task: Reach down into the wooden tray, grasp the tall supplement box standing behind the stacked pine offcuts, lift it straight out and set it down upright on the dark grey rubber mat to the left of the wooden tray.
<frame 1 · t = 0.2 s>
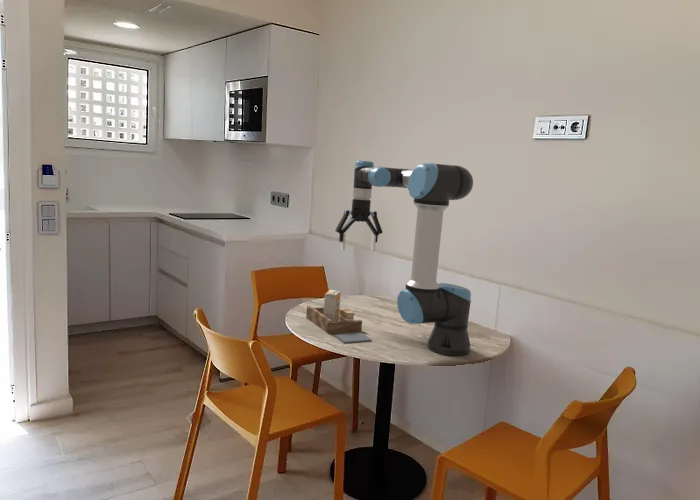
hand: (357, 250, 235), 28 cm above the table, fingers open, 13 cm apart
mat: (353, 338, 206), on the table
wooden tray: (333, 324, 222), on the table
offcut upper: (345, 316, 225), point 3 cm above the table, touching offcut lower
supplement box: (330, 324, 222), on the table
offcut lower: (345, 324, 225), on the table, touching offcut upper
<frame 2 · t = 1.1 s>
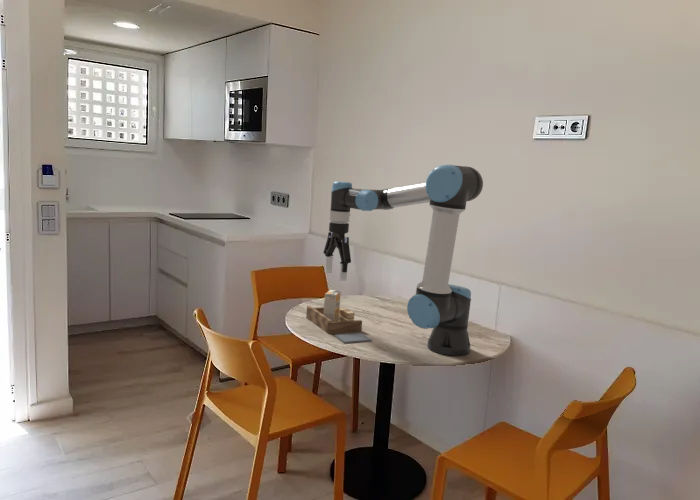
hand: (335, 276, 220), 19 cm above the table, fingers open, 13 cm apart
nothing on the table moved.
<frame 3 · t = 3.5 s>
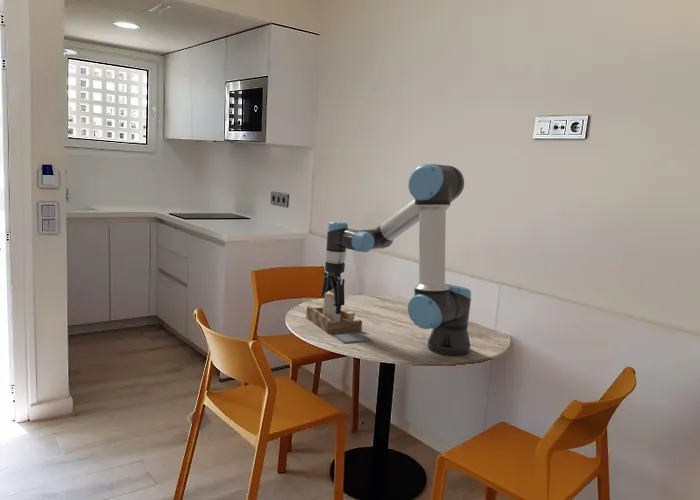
hand: (331, 318, 222), 3 cm above the table, fingers closed on supplement box, 9 cm apart
supplement box: (330, 324, 222), on the table, touching gripper
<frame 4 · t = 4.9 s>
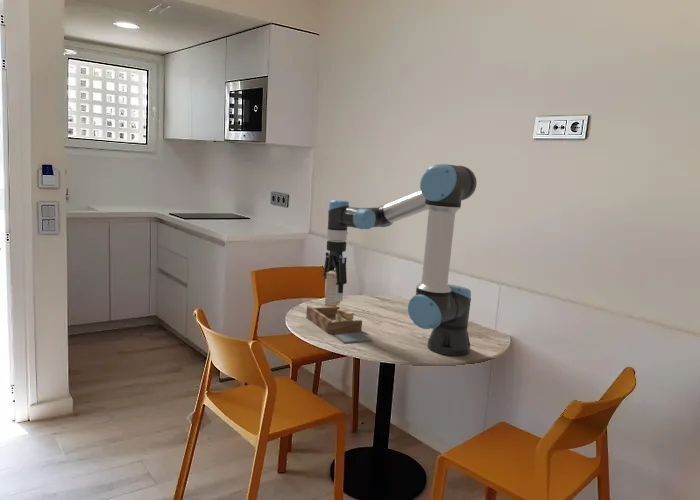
hand: (333, 298, 220), 11 cm above the table, fingers closed on supplement box, 9 cm apart
supplement box: (332, 305, 220), point 8 cm above the table, touching gripper
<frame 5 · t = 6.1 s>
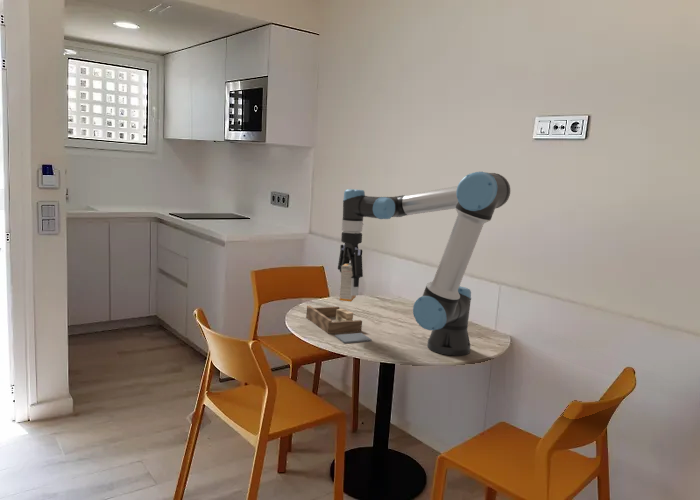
hand: (348, 292, 210), 16 cm above the table, fingers closed on supplement box, 9 cm apart
supplement box: (347, 299, 210), point 13 cm above the table, touching gripper
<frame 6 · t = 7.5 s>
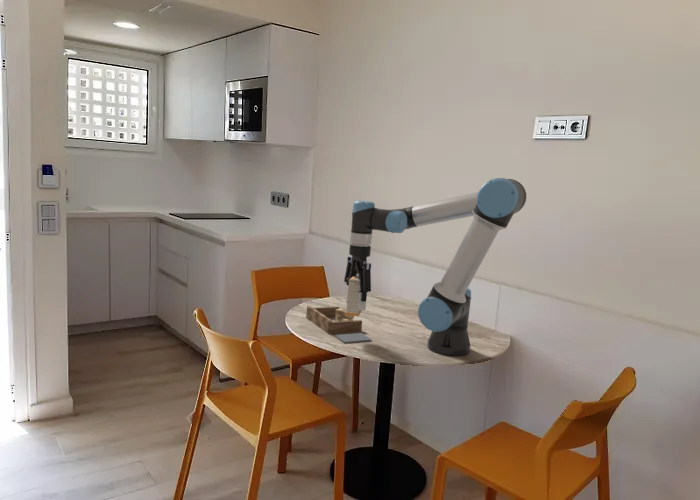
hand: (355, 306, 204), 12 cm above the table, fingers closed on supplement box, 9 cm apart
supplement box: (354, 313, 205), point 9 cm above the table, touching gripper
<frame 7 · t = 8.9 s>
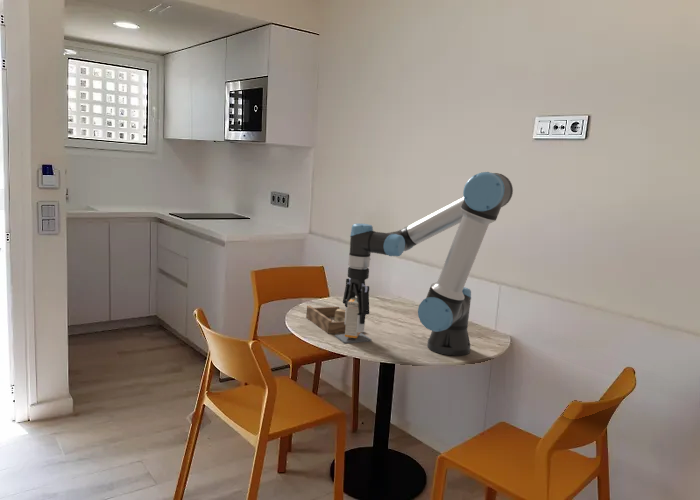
hand: (353, 328, 205), 4 cm above the table, fingers closed on supplement box, 9 cm apart
supplement box: (352, 335, 206), point 1 cm above the table, touching gripper
when the fingers open (4 cm above the table, at t = 9.8 s): supplement box moves 1 cm, resting on mat.
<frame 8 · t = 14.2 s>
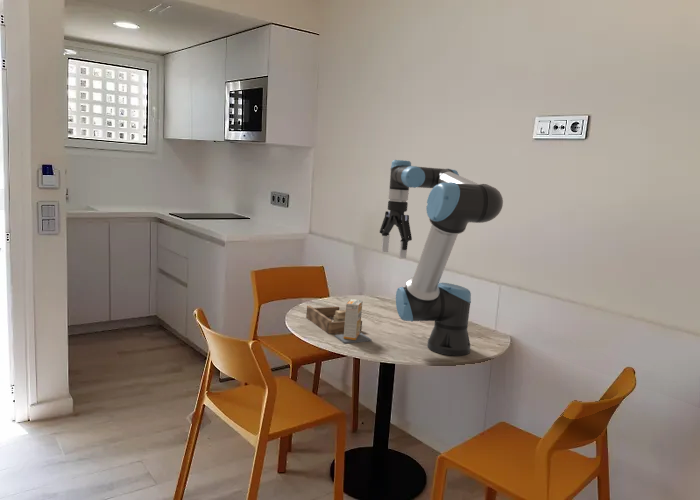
hand: (393, 255, 221), 29 cm above the table, fingers open, 13 cm apart
supplement box: (351, 337, 207), resting on mat
at the end: supplement box inside the target area on the mat (0.8 cm from its centre), point 0.4 cm above the mat's base; supplement box tilted 0°; the gripper is holding nothing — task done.
